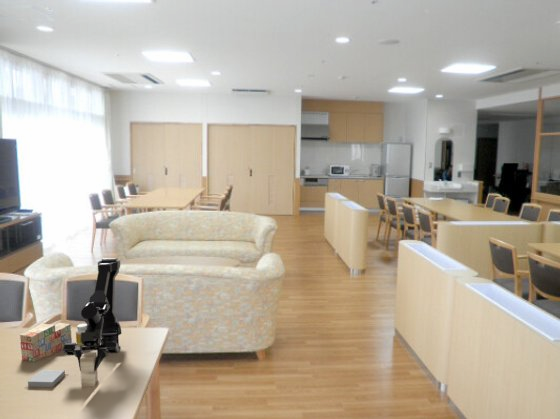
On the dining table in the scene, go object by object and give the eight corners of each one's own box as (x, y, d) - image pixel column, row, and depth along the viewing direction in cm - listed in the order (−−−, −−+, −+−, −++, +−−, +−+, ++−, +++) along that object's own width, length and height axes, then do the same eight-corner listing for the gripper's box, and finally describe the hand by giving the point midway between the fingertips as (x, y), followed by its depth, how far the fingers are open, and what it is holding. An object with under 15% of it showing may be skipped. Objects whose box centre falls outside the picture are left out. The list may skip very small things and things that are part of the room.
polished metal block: (85, 383, 175) (83, 352, 174) (97, 382, 176) (96, 352, 174) (81, 389, 171) (79, 358, 169) (94, 389, 172) (93, 357, 170)
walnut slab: (41, 378, 181) (41, 373, 180) (69, 379, 180) (69, 374, 180) (24, 393, 170) (24, 388, 170) (54, 394, 169) (54, 389, 169)
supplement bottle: (76, 344, 209) (75, 324, 208) (89, 342, 211) (88, 322, 210) (77, 349, 204) (75, 328, 203) (90, 347, 207) (89, 326, 205)
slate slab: (41, 374, 179) (41, 369, 179) (65, 375, 179) (64, 370, 179) (28, 386, 170) (27, 381, 170) (52, 387, 170) (52, 382, 170)
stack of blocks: (60, 342, 212) (58, 315, 211) (72, 343, 210) (70, 317, 209) (21, 363, 192) (19, 334, 190) (34, 365, 190) (32, 336, 188)
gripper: (62, 322, 173) (54, 364, 164) (115, 320, 175) (110, 361, 166) (70, 334, 182) (63, 375, 172) (120, 332, 184) (116, 372, 175)
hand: (87, 371), depth 171 cm, fingers closed on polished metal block, 4 cm apart
